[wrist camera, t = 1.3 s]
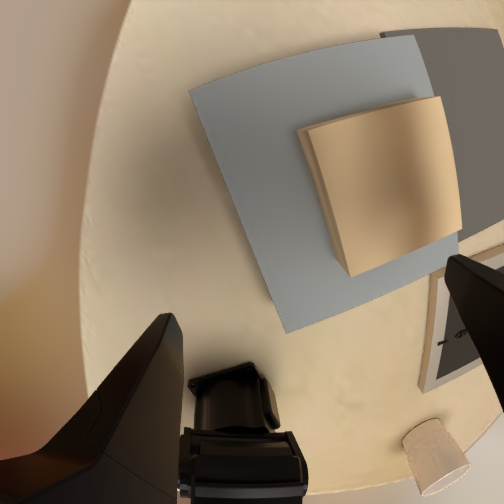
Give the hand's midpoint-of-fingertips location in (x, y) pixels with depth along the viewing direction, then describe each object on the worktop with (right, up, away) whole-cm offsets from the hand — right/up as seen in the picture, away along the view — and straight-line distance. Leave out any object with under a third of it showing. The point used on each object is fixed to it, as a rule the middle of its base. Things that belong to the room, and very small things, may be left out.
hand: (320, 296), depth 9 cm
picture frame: (+26, -5, +19) cm, 32 cm away
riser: (+4, +7, +12) cm, 14 cm away
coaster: (+5, +6, +8) cm, 11 cm away
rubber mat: (+17, +12, +11) cm, 23 cm away
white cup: (+23, -25, +27) cm, 43 cm away
